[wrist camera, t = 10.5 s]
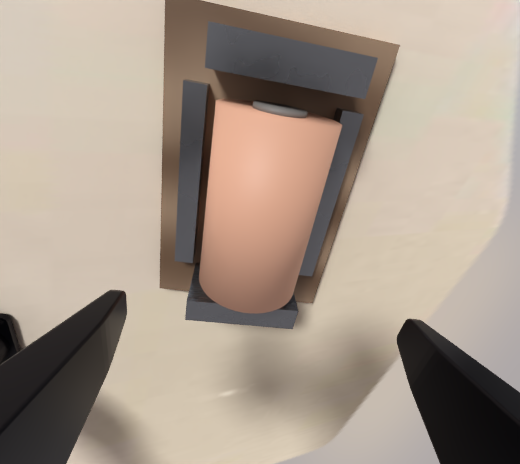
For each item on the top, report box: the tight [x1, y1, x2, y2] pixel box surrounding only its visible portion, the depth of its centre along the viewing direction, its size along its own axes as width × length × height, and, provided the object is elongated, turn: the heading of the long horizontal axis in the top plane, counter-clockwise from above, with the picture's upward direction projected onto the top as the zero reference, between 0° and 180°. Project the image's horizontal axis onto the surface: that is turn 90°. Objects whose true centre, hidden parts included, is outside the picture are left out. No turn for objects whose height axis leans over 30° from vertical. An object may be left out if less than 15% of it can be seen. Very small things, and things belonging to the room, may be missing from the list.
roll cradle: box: [160, 0, 400, 329], centre depth 18 cm, size 18×12×5 cm, turn 170°
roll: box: [199, 99, 342, 314], centre depth 17 cm, size 10×6×6 cm, turn 170°
